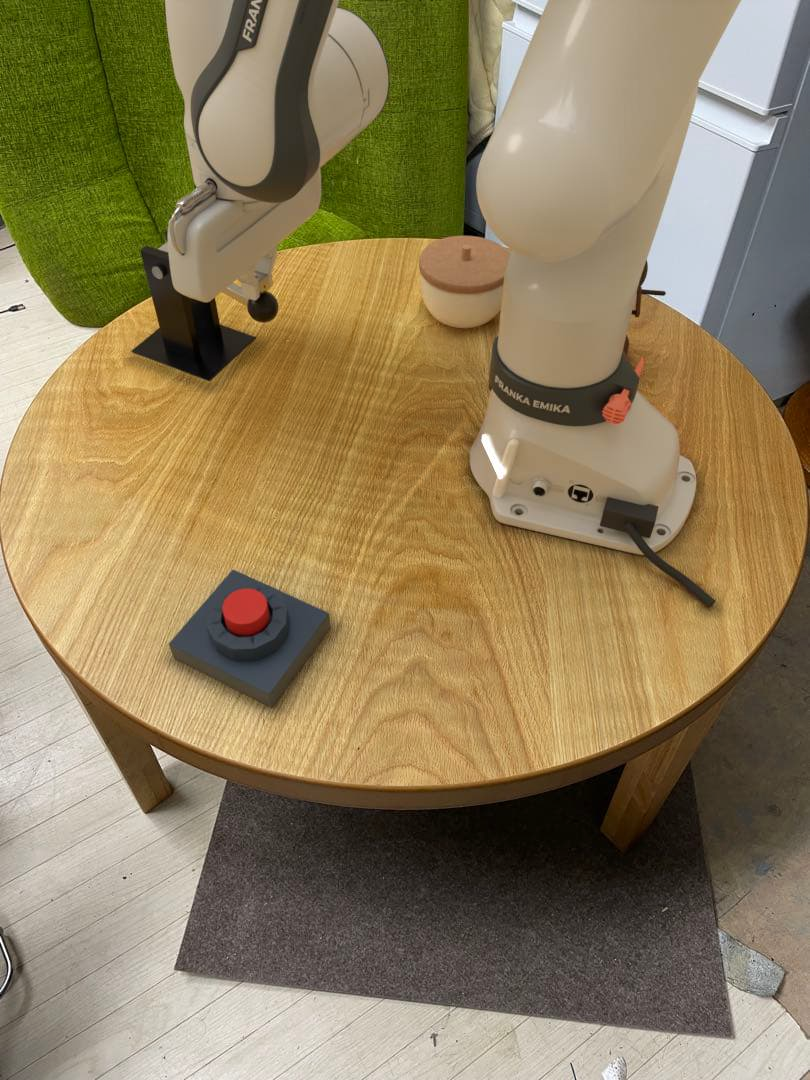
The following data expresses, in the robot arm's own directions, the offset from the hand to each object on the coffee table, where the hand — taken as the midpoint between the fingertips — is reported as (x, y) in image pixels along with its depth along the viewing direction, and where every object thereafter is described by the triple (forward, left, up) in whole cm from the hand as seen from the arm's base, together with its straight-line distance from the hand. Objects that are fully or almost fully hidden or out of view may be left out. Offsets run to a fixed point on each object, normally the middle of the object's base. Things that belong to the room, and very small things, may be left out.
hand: (258, 292), depth 88 cm
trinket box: (-14, -21, -12) cm, 28 cm away
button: (-19, +30, -8) cm, 36 cm away
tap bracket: (+10, 0, -11) cm, 15 cm away
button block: (-19, +30, -11) cm, 37 cm away
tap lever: (+5, 0, -2) cm, 6 cm away
